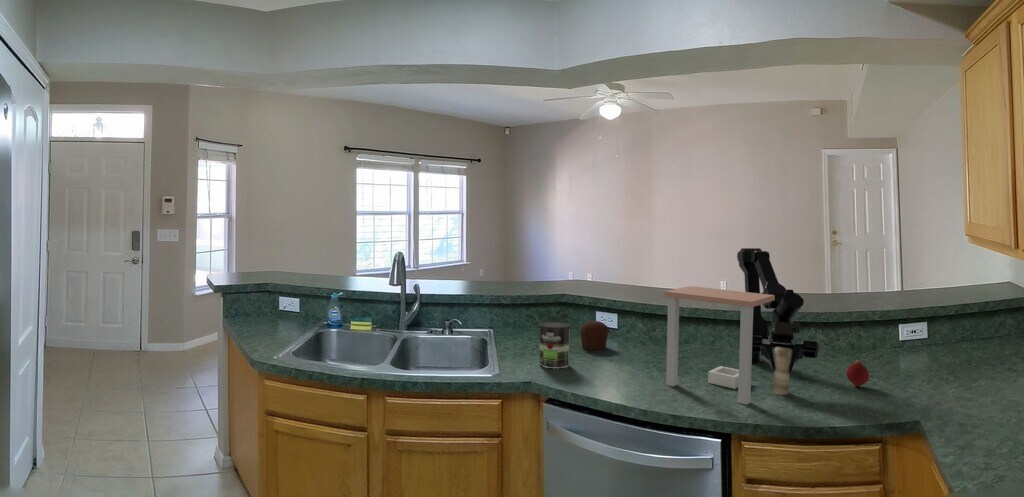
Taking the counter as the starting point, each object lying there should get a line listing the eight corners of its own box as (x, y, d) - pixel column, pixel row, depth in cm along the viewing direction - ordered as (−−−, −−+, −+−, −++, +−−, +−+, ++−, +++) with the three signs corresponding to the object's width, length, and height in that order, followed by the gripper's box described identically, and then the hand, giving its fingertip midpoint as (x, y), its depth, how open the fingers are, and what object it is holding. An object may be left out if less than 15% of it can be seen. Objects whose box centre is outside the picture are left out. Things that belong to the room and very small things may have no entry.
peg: (776, 389, 167) (778, 346, 166) (790, 392, 164) (792, 348, 164) (771, 392, 164) (772, 348, 164) (785, 395, 162) (787, 350, 161)
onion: (865, 384, 172) (867, 358, 171) (870, 390, 166) (872, 363, 166) (843, 382, 174) (845, 357, 173) (848, 388, 168) (849, 361, 168)
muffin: (577, 350, 212) (578, 324, 212) (579, 343, 223) (579, 318, 222) (610, 351, 210) (610, 325, 210) (609, 344, 221) (610, 319, 220)
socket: (720, 376, 180) (720, 366, 179) (746, 382, 174) (747, 371, 173) (708, 382, 174) (708, 371, 173) (735, 388, 168) (735, 377, 167)
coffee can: (564, 370, 186) (564, 328, 185) (534, 367, 190) (535, 325, 189) (573, 362, 196) (573, 322, 195) (544, 359, 200) (545, 320, 198)
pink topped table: (688, 373, 183) (690, 286, 181) (771, 392, 164) (774, 295, 162) (662, 384, 172) (664, 291, 169) (748, 406, 153) (751, 301, 151)
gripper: (748, 308, 170) (747, 353, 161) (819, 313, 163) (821, 360, 153) (748, 329, 178) (746, 373, 169) (815, 334, 170) (817, 380, 161)
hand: (782, 371), depth 163 cm, fingers closed on peg, 4 cm apart
